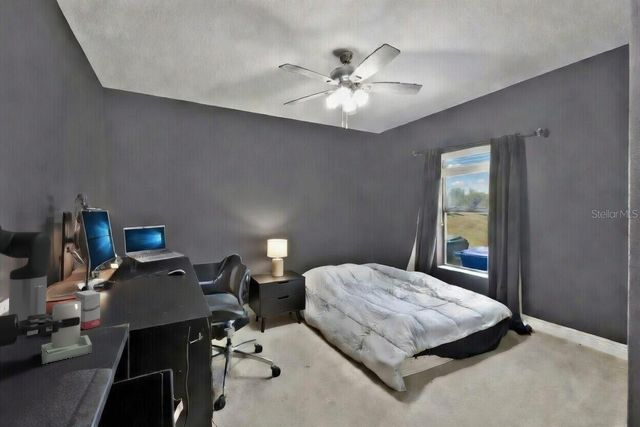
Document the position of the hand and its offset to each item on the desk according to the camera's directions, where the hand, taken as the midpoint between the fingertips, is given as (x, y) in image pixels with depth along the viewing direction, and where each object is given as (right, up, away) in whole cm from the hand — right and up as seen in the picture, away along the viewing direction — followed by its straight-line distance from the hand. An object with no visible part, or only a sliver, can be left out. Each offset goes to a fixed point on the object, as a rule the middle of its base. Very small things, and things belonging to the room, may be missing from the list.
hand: (78, 317), depth 82 cm
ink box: (-13, -10, +19) cm, 25 cm away
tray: (-2, -9, -2) cm, 9 cm away
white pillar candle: (-2, -6, -2) cm, 7 cm away
